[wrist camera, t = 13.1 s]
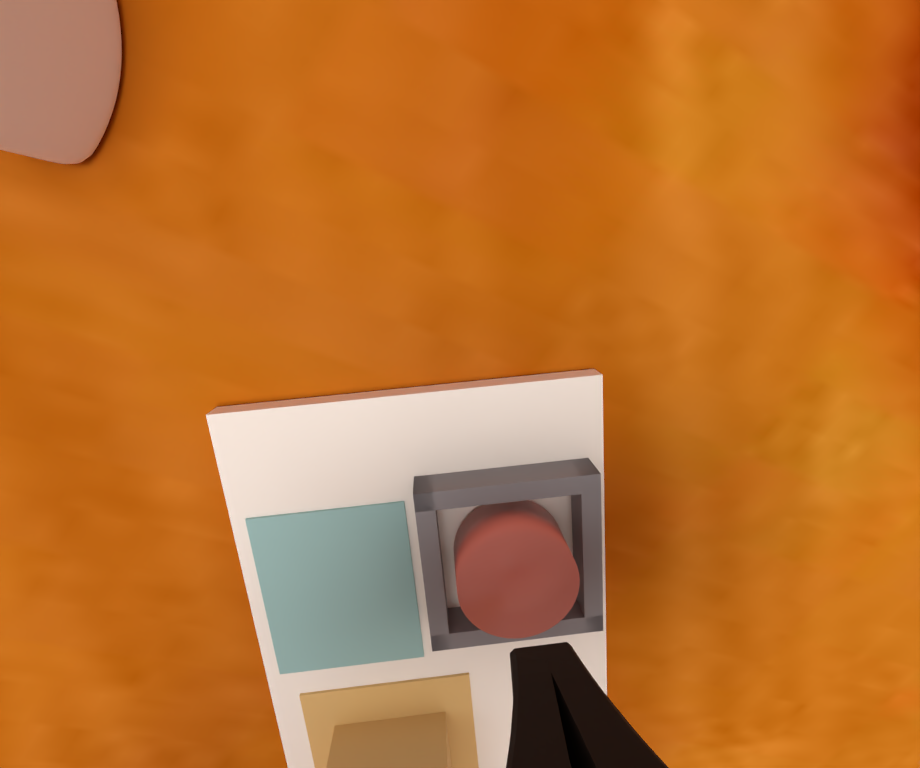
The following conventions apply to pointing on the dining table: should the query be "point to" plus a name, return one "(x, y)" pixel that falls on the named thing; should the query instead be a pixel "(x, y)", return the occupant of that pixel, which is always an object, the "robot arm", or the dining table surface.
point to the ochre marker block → (392, 743)
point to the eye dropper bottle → (57, 76)
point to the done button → (514, 570)
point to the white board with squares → (405, 546)
